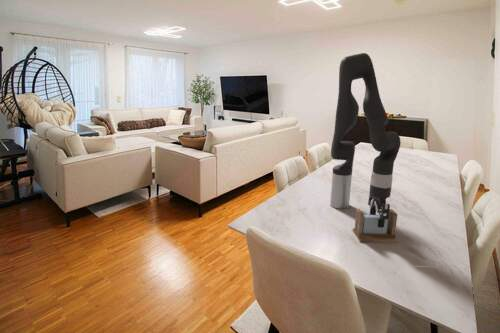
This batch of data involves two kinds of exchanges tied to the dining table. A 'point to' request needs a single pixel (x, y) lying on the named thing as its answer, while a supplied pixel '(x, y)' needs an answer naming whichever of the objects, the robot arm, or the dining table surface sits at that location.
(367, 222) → the door panel
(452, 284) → the dining table surface
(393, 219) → the frame
